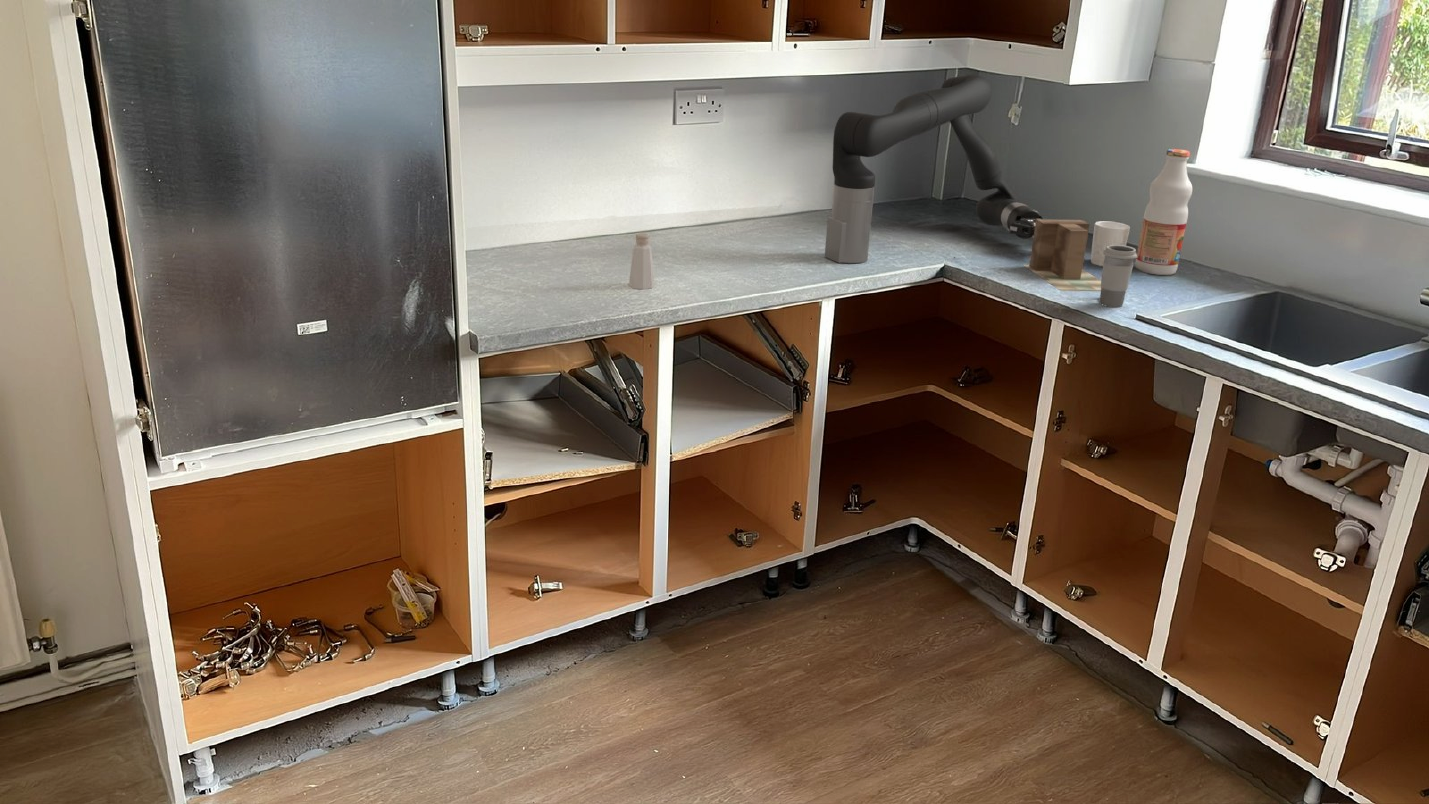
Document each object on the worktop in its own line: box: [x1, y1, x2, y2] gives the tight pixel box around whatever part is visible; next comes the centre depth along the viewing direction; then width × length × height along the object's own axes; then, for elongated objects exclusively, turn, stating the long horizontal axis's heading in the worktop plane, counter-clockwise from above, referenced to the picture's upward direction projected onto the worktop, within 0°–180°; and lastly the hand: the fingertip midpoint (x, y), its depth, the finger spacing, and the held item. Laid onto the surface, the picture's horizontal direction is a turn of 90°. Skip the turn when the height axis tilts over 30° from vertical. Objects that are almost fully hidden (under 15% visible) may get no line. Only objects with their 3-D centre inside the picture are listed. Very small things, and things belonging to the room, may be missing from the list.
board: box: [1023, 264, 1101, 292], centre depth 247 cm, size 21×13×1 cm, turn 8°
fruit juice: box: [1134, 148, 1193, 276], centre depth 254 cm, size 9×9×28 cm
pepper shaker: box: [628, 232, 656, 290], centre depth 227 cm, size 5×5×11 cm
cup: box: [1099, 245, 1137, 308], centre depth 229 cm, size 7×7×12 cm
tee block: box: [1028, 219, 1090, 279], centre depth 248 cm, size 11×11×11 cm
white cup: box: [1090, 220, 1131, 267], centre depth 259 cm, size 8×8×10 cm
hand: (1049, 236), depth 256 cm, fingers closed
